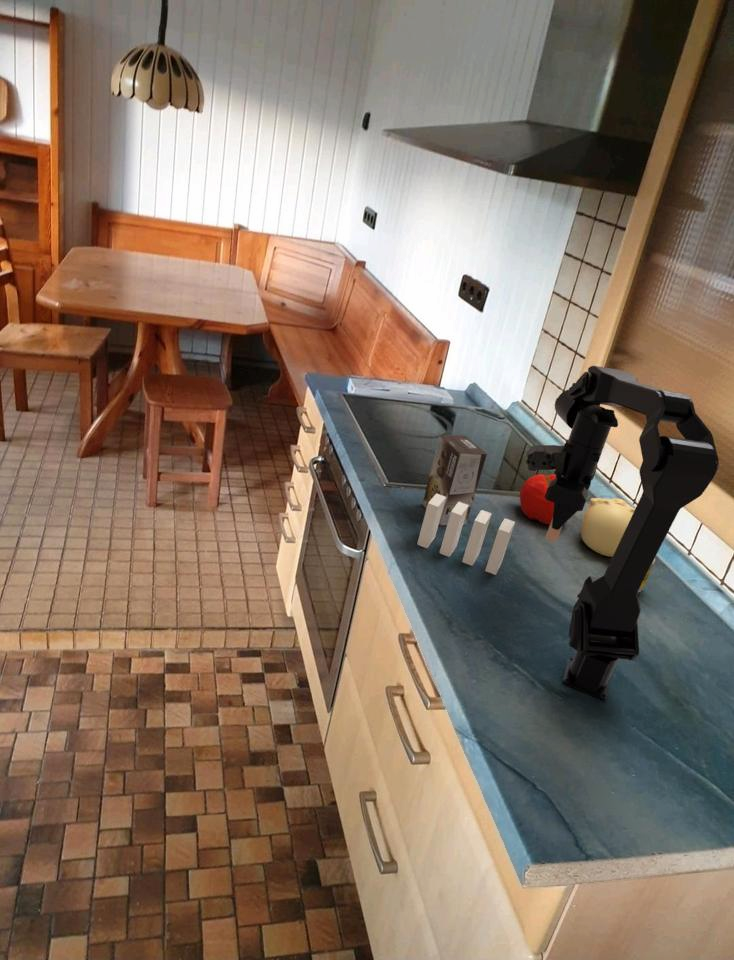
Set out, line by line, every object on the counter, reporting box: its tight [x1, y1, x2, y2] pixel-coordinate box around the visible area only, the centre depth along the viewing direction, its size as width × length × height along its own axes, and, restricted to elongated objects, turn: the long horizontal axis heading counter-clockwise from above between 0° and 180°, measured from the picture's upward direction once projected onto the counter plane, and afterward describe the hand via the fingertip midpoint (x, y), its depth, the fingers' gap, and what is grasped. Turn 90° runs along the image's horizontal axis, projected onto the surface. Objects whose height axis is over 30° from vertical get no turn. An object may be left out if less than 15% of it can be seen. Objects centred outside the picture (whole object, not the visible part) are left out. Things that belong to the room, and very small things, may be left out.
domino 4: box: [485, 518, 516, 576], centre depth 128 cm, size 5×2×9 cm, turn 157°
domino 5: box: [544, 518, 563, 544], centre depth 121 cm, size 5×2×9 cm, turn 157°
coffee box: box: [422, 434, 488, 526], centre depth 141 cm, size 9×6×16 cm
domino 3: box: [461, 509, 492, 567], centre depth 129 cm, size 5×2×9 cm, turn 157°
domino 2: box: [439, 502, 469, 558], centre depth 130 cm, size 5×2×9 cm, turn 157°
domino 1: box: [416, 493, 446, 549], centre depth 131 cm, size 5×2×9 cm, turn 157°
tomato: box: [519, 473, 556, 526], centre depth 150 cm, size 11×12×9 cm
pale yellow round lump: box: [580, 497, 636, 558], centre depth 143 cm, size 11×12×11 cm
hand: (557, 522), depth 122 cm, fingers closed on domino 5, 5 cm apart
